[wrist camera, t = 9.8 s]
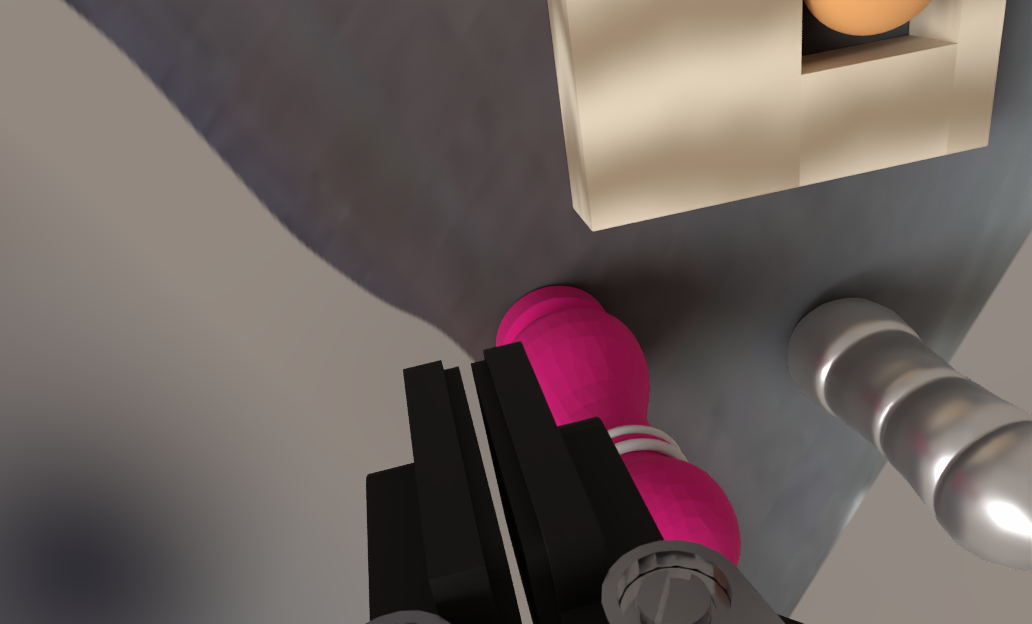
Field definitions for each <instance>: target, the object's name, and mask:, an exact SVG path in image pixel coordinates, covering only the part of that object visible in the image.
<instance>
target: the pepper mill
mask: <svg viewBox="0 0 1032 624" xmlns="http://www.w3.org/2000/svg"><path fill="white" fill-rule="evenodd" d="M518 341H521V342H522V344H523V346H524V349H525V351H526V353H527V356H528V358H529V361H530V363H531V365H532V368H533V370H534V372H535V375H536V377H537V379H538V382H539V384H540V386H541V389H542V391H543V394H544V396H545V398H546V401H547V403H548V405H549V408H550V410H551V412H552V415H553V417H554V419H555V422H556V424H557V426H561V425H565V424H569V423H573V422H577V421H581V420H585V419H588V418H592V417H596V416H597V417H599V418H600V419H601V420H602V422H603V423H604V425H605V427H606V429H607V431H608V433H609V435H610V437H611V439H612V441H613V442H614V444H615V446H616V448H617V450H618V452H619V454H620V456H621V458H622V460H623V462H624V464H625V465H626V467H627V469H628V471H629V473H630V475H631V477H632V479H633V481H634V483H635V485H636V487H637V488H638V490H639V492H640V494H641V496H642V498H643V500H644V502H645V504H646V506H647V508H648V510H649V511H650V513H651V515H652V517H653V519H654V521H655V523H656V525H657V527H658V529H659V531H660V533H661V534H662V536H663V538H664V540H683V541H688V542H693V543H698V544H702V545H704V546H706V547H709V548H711V549H713V550H715V551H717V552H719V553H721V554H722V555H723V556H725V557H726V558H727V559H728V560H729V561H730V562H732V563H733V564H734V565H735V566H736V567H737V564H738V560H739V556H740V545H741V541H740V532H739V527H738V522H737V517H736V515H735V513H734V510H733V508H732V505H731V503H730V501H729V500H728V498H727V496H726V494H725V493H724V491H723V490H722V488H721V487H720V486H719V485H718V484H717V483H716V482H715V481H714V480H713V479H712V478H711V477H710V476H709V475H708V474H707V473H706V472H705V471H703V470H701V469H700V468H698V467H697V466H695V465H693V464H691V463H688V461H687V459H686V457H685V456H684V455H683V454H682V452H681V450H680V448H679V446H678V445H677V444H676V442H675V441H674V440H673V439H672V438H671V437H670V436H668V435H667V434H666V433H664V432H662V431H660V430H658V429H655V428H653V427H650V425H649V423H648V421H647V409H648V401H649V392H650V385H649V375H648V367H647V363H646V359H645V356H644V354H643V352H642V350H641V348H640V345H639V343H638V342H637V340H636V338H635V336H634V335H633V333H632V332H631V331H630V330H629V329H628V327H627V326H626V325H624V324H623V323H622V322H621V321H620V320H618V319H617V318H615V317H614V316H612V315H610V314H608V313H606V311H605V310H604V308H603V307H602V306H601V304H600V303H599V302H598V301H597V300H596V299H595V298H594V297H592V296H591V295H590V294H588V293H587V292H585V291H583V290H581V289H578V288H574V287H569V286H549V287H544V288H541V289H538V290H535V291H533V292H531V293H529V294H527V295H525V296H524V297H522V298H521V299H520V300H518V301H517V302H516V303H515V304H514V305H513V306H512V307H511V308H510V309H509V310H508V312H507V313H506V314H505V316H504V318H503V320H502V321H501V324H500V326H499V329H498V333H497V339H496V347H498V346H502V345H506V344H510V343H514V342H518Z"/></svg>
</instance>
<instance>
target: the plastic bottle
mask: <svg viewBox="0 0 1032 624" xmlns="http://www.w3.org/2000/svg"><path fill="white" fill-rule="evenodd" d="M787 366H788V370H789V372H790V375H791V376H792V378H793V380H794V381H795V383H796V384H797V386H798V388H799V389H800V391H801V392H802V393H803V395H804V396H805V397H807V398H808V399H809V400H810V401H812V402H813V403H815V404H816V405H817V406H819V407H820V408H822V409H823V410H824V411H826V412H828V413H830V414H831V415H833V416H835V417H837V418H840V419H841V420H842V421H844V422H845V423H846V424H847V425H849V426H850V427H851V428H853V429H854V430H855V431H856V432H858V433H859V434H860V435H862V436H863V437H864V438H865V439H867V440H868V441H869V442H870V443H872V444H873V445H874V446H875V447H876V448H877V449H878V450H879V451H880V453H881V454H882V455H883V456H884V457H886V458H887V459H888V461H889V462H890V463H891V464H892V465H893V466H894V468H895V469H896V470H897V471H898V472H899V473H900V474H901V475H902V476H903V477H904V478H905V479H906V480H907V482H908V483H909V484H910V485H911V487H912V488H913V489H914V490H915V492H916V493H917V495H918V496H919V497H920V498H921V500H922V501H923V502H924V504H925V505H926V507H927V508H928V509H929V511H930V512H931V513H932V514H933V516H934V517H935V518H936V520H937V521H938V522H939V524H940V525H941V527H942V528H943V529H944V530H945V531H946V533H948V535H949V536H950V537H951V538H952V539H953V541H954V542H955V543H956V544H957V545H959V546H960V547H961V548H963V549H964V550H966V551H968V552H970V553H971V554H973V555H975V556H977V557H979V558H981V559H982V560H985V561H987V562H990V563H993V564H996V565H1001V566H1004V567H1008V568H1012V569H1015V570H1021V571H1028V572H1032V414H1031V413H1029V412H1028V411H1026V410H1023V409H1021V408H1020V407H1018V406H1015V405H1013V404H1011V403H1009V402H1007V401H1005V400H1003V399H1001V398H1000V397H998V396H997V395H995V394H993V393H992V392H990V391H989V390H987V389H985V388H984V387H982V386H980V385H979V384H977V383H975V382H973V381H972V380H971V379H969V378H968V377H966V376H964V375H963V374H961V373H960V372H958V371H956V370H955V369H954V368H953V367H951V366H950V365H949V364H948V363H947V362H946V361H944V360H943V359H942V358H941V357H940V356H939V355H938V354H936V353H935V352H934V351H933V350H932V349H931V348H929V347H928V346H927V345H926V344H925V343H924V342H922V340H921V339H920V337H919V336H918V335H917V334H916V332H915V331H914V330H913V329H912V328H911V327H910V326H909V325H908V324H907V323H906V322H905V321H904V320H903V319H902V318H901V317H900V316H899V315H897V314H896V313H895V312H894V311H893V310H891V309H889V308H887V307H885V306H882V305H880V304H877V303H875V302H872V301H870V300H866V299H862V298H844V299H838V300H834V301H830V302H827V303H824V304H822V305H820V306H818V307H816V308H815V309H813V310H812V311H811V312H809V313H808V314H807V315H806V316H805V317H804V318H803V319H802V320H801V321H800V322H799V323H798V325H797V326H796V327H795V329H794V331H793V333H792V335H791V337H790V340H789V344H788V351H787Z"/></svg>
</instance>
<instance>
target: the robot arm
mask: <svg viewBox="0 0 1032 624" xmlns="http://www.w3.org/2000/svg"><path fill="white" fill-rule="evenodd" d="M483 353H484V359H485V360H483V361H479V362H475V363H471V367H472V372H473V377H474V381H475V385H476V390H477V395H478V399H479V403H480V408H481V412H482V417H483V421H484V426H485V430H486V434H487V439H488V444H489V448H490V452H491V457H492V461H493V466H494V470H495V475H496V479H497V484H498V488H499V492H500V497H501V501H502V506H503V510H504V514H505V519H506V523H507V527H508V531H509V535H510V539H511V542H512V546H513V550H514V554H515V557H516V561H517V565H518V569H519V572H520V576H521V580H522V584H523V587H524V591H525V595H526V599H527V603H528V606H529V610H530V614H531V618H532V621H533V624H803V623H801V622H798V621H795V620H792V619H789V618H786V617H784V616H781V615H778V614H777V613H776V612H775V611H774V610H773V609H772V608H771V606H770V605H769V604H768V603H767V602H766V601H765V599H764V598H763V597H762V596H761V595H760V594H759V593H758V591H757V590H756V589H755V588H754V587H753V586H752V584H751V583H750V582H749V581H748V580H747V579H746V577H745V576H744V575H743V574H742V573H741V572H740V570H739V569H738V568H737V567H736V566H735V565H734V564H733V563H732V562H730V561H729V560H728V559H727V558H726V557H725V556H723V555H722V554H721V553H719V552H717V551H715V550H713V549H711V548H709V547H706V546H704V545H702V544H698V543H693V542H688V541H683V540H664V538H663V536H662V534H661V533H660V531H659V529H658V527H657V525H656V523H655V521H654V519H653V517H652V515H651V513H650V511H649V510H648V508H647V506H646V504H645V502H644V500H643V498H642V496H641V494H640V492H639V490H638V488H637V487H636V485H635V483H634V481H633V479H632V477H631V475H630V473H629V471H628V469H627V467H626V465H625V464H624V462H623V460H622V458H621V456H620V454H619V452H618V450H617V448H616V446H615V444H614V442H613V441H612V439H611V437H610V435H609V433H608V431H607V429H606V427H605V425H604V423H603V422H602V420H601V419H600V418H599V417H597V416H596V417H592V418H588V419H585V420H581V421H577V422H573V423H569V424H565V425H561V426H557V424H556V422H555V419H554V417H553V415H552V412H551V410H550V408H549V405H548V403H547V401H546V398H545V396H544V394H543V391H542V389H541V386H540V384H539V382H538V379H537V377H536V375H535V372H534V370H533V368H532V365H531V363H530V361H529V358H528V356H527V353H526V351H525V349H524V346H523V344H522V342H521V341H518V342H514V343H510V344H506V345H502V346H498V347H494V348H489V349H485V350H483ZM403 374H404V382H405V391H406V399H407V407H408V416H409V424H410V431H411V440H412V448H413V457H414V463H411V464H407V465H403V466H399V467H395V468H391V469H387V470H384V471H379V472H375V473H372V474H368V475H367V477H366V499H367V534H368V571H369V606H370V622H368V623H366V624H522V621H521V617H520V613H519V608H518V604H517V599H516V595H515V591H514V587H513V582H512V578H511V574H510V569H509V565H508V561H507V557H506V553H505V549H504V545H503V541H502V536H501V533H500V529H499V525H498V521H497V517H496V513H495V509H494V505H493V501H492V497H491V493H490V489H489V486H488V481H487V477H486V473H485V469H484V465H483V461H482V457H481V453H480V449H479V445H478V441H477V437H476V433H475V429H474V426H473V421H472V418H471V414H470V410H469V406H468V402H467V398H466V394H465V390H464V386H463V382H462V378H461V374H460V370H459V367H454V368H451V369H446V370H444V369H443V365H442V361H441V360H440V361H436V362H431V363H427V364H423V365H419V366H415V367H411V368H407V369H403Z"/></svg>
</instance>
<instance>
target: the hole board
mask: <svg viewBox="0 0 1032 624" xmlns="http://www.w3.org/2000/svg"><path fill="white" fill-rule="evenodd" d="M547 1H548V9H549V17H550V25H551V33H552V41H553V49H554V57H555V65H556V73H557V81H558V89H559V97H560V105H561V113H562V121H563V129H564V137H565V145H566V153H567V161H568V169H569V177H570V185H571V193H572V201H573V208H574V209H575V211H576V212H577V213H578V214H579V215H580V217H581V218H582V219H583V220H584V222H585V223H586V224H587V225H588V226H589V228H590V229H591V230H592V231H597V230H602V229H606V228H611V227H616V226H620V225H625V224H629V223H634V222H639V221H643V220H648V219H652V218H657V217H662V216H666V215H671V214H675V213H680V212H685V211H689V210H694V209H698V208H703V207H708V206H712V205H717V204H721V203H726V202H731V201H735V200H740V199H744V198H749V197H754V196H758V195H763V194H767V193H772V192H777V191H781V190H786V189H791V188H795V187H800V186H804V185H809V184H814V183H818V182H823V181H827V180H832V179H837V178H841V177H846V176H850V175H855V174H860V173H864V172H869V171H873V170H878V169H883V168H887V167H892V166H896V165H901V164H906V163H910V162H915V161H919V160H924V159H929V158H933V157H938V156H942V155H947V154H952V153H956V152H961V151H965V150H970V149H975V148H979V147H984V146H988V138H989V130H990V123H991V115H992V107H993V99H994V92H995V84H996V76H997V68H998V60H999V53H1000V45H1001V37H1002V29H1003V22H1004V14H1005V6H1006V0H931V1H930V3H929V4H928V5H927V6H926V7H925V8H924V9H923V10H922V11H921V12H920V13H919V14H917V15H916V16H915V17H914V18H912V19H911V20H910V25H909V35H905V36H900V37H895V38H890V39H885V40H880V41H875V42H870V43H865V44H860V45H855V46H850V47H845V48H840V49H835V50H830V51H825V52H820V53H815V54H810V55H805V56H802V0H547Z"/></svg>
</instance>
